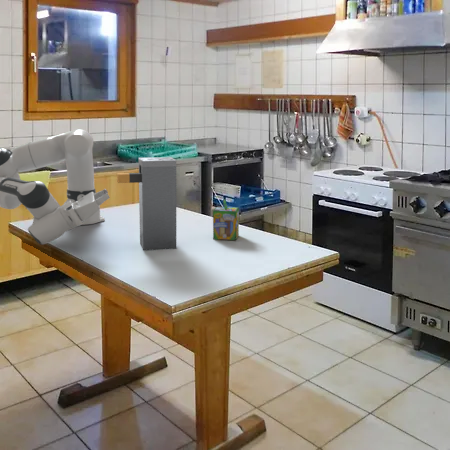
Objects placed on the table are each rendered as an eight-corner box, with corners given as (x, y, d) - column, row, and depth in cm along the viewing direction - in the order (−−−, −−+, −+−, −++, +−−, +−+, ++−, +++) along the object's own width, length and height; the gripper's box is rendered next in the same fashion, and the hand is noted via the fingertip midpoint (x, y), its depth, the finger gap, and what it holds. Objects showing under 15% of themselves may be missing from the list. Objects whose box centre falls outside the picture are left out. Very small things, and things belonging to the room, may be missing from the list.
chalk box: (235, 241, 223) (236, 203, 220) (212, 239, 224) (212, 201, 221) (239, 235, 232) (240, 198, 228) (216, 234, 233) (217, 197, 230)
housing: (140, 243, 217) (138, 157, 210) (171, 241, 220) (171, 157, 213) (143, 250, 207) (141, 161, 200) (176, 248, 210) (176, 160, 203)
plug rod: (117, 181, 206) (117, 173, 205) (167, 180, 211) (167, 172, 210) (118, 183, 203) (117, 174, 203) (169, 181, 208) (169, 173, 207)
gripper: (78, 214, 214) (110, 195, 215) (78, 227, 194) (114, 205, 196) (68, 200, 212) (101, 180, 213) (68, 211, 192) (104, 190, 194)
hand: (107, 192), depth 204 cm, fingers open, 8 cm apart
